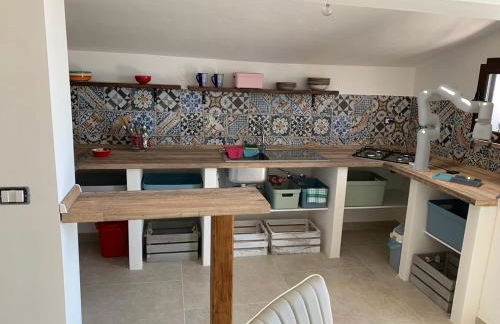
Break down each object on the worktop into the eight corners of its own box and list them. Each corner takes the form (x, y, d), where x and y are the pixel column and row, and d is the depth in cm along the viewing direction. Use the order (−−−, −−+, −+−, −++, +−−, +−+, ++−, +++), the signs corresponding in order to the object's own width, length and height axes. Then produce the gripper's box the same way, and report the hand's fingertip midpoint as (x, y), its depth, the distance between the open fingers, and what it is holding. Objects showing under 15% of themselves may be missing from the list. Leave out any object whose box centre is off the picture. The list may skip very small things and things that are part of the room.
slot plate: (449, 182, 255) (450, 177, 254) (456, 178, 265) (456, 174, 264) (476, 187, 244) (477, 182, 243) (481, 183, 254) (482, 179, 253)
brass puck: (464, 180, 252) (465, 176, 252) (466, 179, 256) (467, 175, 256) (472, 182, 249) (473, 178, 249) (474, 180, 253) (475, 177, 252)
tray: (431, 178, 262) (431, 175, 262) (438, 175, 272) (438, 172, 272) (449, 182, 255) (449, 179, 254) (455, 178, 265) (456, 176, 264)
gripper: (467, 120, 246) (463, 146, 250) (498, 123, 234) (494, 150, 238) (470, 120, 251) (467, 145, 255) (501, 122, 240) (496, 149, 243)
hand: (480, 147), depth 246 cm, fingers open, 9 cm apart
